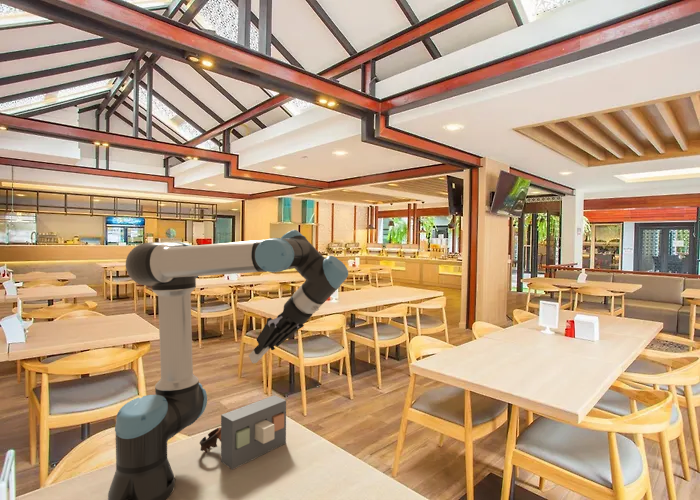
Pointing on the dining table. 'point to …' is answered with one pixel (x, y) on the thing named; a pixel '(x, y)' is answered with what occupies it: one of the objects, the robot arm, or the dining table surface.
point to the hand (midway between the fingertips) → (252, 359)
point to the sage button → (242, 437)
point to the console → (248, 419)
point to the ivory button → (264, 431)
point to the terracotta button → (278, 421)
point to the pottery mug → (211, 439)
